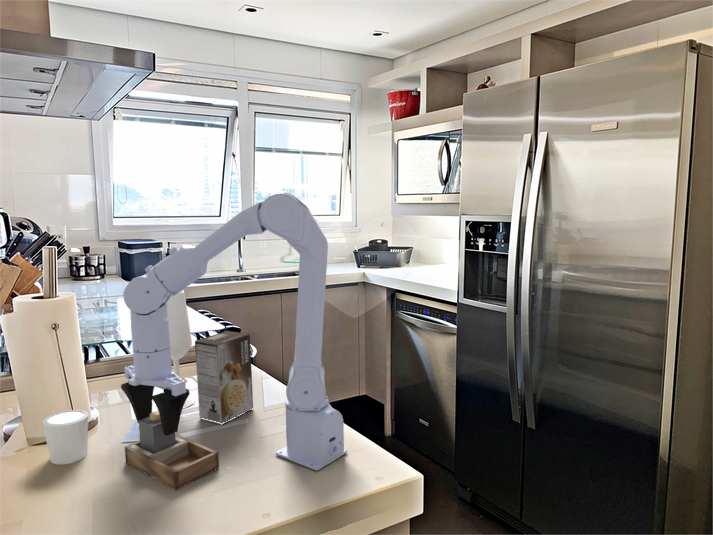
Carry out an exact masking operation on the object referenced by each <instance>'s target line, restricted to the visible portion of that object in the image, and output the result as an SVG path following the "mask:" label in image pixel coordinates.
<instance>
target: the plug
mask: <svg viewBox="0 0 713 535" xmlns="http://www.w3.org/2000/svg"><path fill="white" fill-rule="evenodd" d="M138 428H139V430H138V431H139V441H140V447H141V448H142V449H144V450H146V451H148V452H150V453H152V454H154V453H156V452H159V451H161V450H163V449H166V448H168V447H171V446H173V445H175V444H176V440H175V434H176V432H175V433H173V434H170V435H168V436H166V435H164V433H163V430H162V425H161V418H160V414H159V411H158V410H157V411H156V410H155V411H152V413H150V417H147V418H144V419H141V420H139V423H138Z"/></svg>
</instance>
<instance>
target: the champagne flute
mask: <svg viewBox="0 0 713 535" xmlns="http://www.w3.org/2000/svg"><path fill="white" fill-rule="evenodd" d="M166 304H167V314H168V321H169V336H170V351H171V361H172V362H173V363H172V364H173V365H172V366H173V372H174V373H175V374H176V375H177V376H178V377H179V378H180V379H181V373H180V372H181V370H180V359H181V358H183V357H184V356H185V355H186V354H187V353H188V352H189V350H190V349H191V347H192V345H193V340H192V333H191V327H190V320H189V314H188V308H187V302H186V294H185V290H184V289H183V290H182V291H181V292H179V293H178V294H176V295H175V296H170V299H169V300H168V301H167V303H166ZM194 401H195V399H193V398H190V397H188V398H187V399H186V401H185V404H184V406H183V407H186V406H189V405H191V404H193V403H194ZM194 404H195V403H194Z"/></svg>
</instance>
